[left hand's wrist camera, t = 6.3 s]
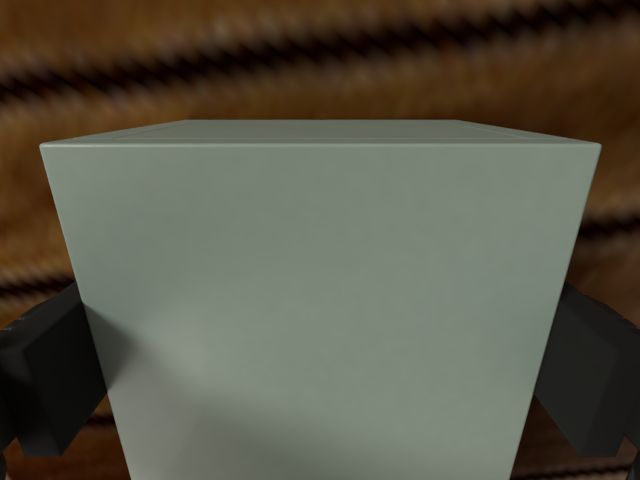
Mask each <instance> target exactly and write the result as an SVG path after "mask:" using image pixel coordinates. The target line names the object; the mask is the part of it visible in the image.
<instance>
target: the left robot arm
mask: <svg viewBox="0 0 640 480" xmlns="http://www.w3.org/2000/svg"><path fill="white" fill-rule="evenodd" d="M636 327H637V326H635V325H634V324H633V323H631V322H630V321H628V320H627V319H623V316H621V315H620V314H619V313H617V312H616V311H615V310H613V309H612V308H610V307H609V306H608V305H606V304H604V303H602V302H599V301H597V300H595V299H593V298H591V297H589V296H587V295H583V294H582V293H580V292H579V291H578V290H576V289H575V288H574V287H572V286H571V285H570V284H568V283H567V282H566V281H564V285H563V289H562V292H561V296H560V299H559V303H558V307H557V310H556V314H555V317H554V321H553V324H552V328H551V332H550V335H549V339H548V342H547V346H546V350H545V353H544V357H543V360H542V364H541V368H540V371H539V375H538V378H537V382H536V386H535V389H534V394H535V396H536V397H537V398H538V400H539V401H540V403H541V404H542V405H543V407H544V408H545V409H546V411H547V412H548V414H549V415H550V416H551V418H552V419H553V421H554V422H555V423H556V425H557V426H558V427H559V429H560V430H561V432H562V433H563V434H564V436H565V437H566V438H567V440H568V441H569V443H570V444H571V445H572V447H573V448H574V450H575V451H576V452H577V454H578V455H579V456H580V457H615V456H616V454H617V452H618V449H619V447H620V444H621V442H622V440H623V437H624V435H625V436H626V437H627V438H628V439H629V440H630V441H631V442H632V444H633V445H634V446H635V447H636V448H637V449H638V452H637V455H636V457H635V459H634V461H633V464H632V466H631V468H630V470H629V473H628V475H627V477H626V479H625V480H640V329H637V328H636ZM106 393H107V389H106V386H105V382H104V379H103V375H102V371H101V368H100V364H99V361H98V357H97V353H96V350H95V346H94V342H93V339H92V335H91V332H90V328H89V324H88V321H87V317H86V314H85V310H84V306H83V303H82V299H81V295H80V292H79V288H78V285H77V281H75V282H73V283H72V284H71V285H69V286H68V287H67V288H65V289H64V290H63V291H61V292H60V293H59V294H57V295H56V296H55V297H53V298H51V299H48V300H46V301H44V302H42V303H40V304H38V305H36V306H34V307H32V308H31V309H30V310H28V311H27V312H26V313H24V314H23V315H21V316H20V317H19V318H18V320H15V321H13V322H12V323H10V324H9V325H8V326H6V327H5V329H4V330H1V331H0V480H5V477H6V471H7V464H6V459H5V457H4V455H3V451H4V450H5V448H6V447H7V446H8V445H9V444H10V443H11V442H12V441H13V440H14V438H15V437H16V436H17V438H18V441H19V443H20V445H21V448H22V450H23V453H24V455H25V457H61V456H62V454H63V453H64V451H65V450H66V449H67V447H68V446H69V445H70V443H71V442H72V440H73V439H74V438H75V436H76V435H77V434H78V432H79V431H80V429H81V428H82V427H83V425H84V424H85V422H86V421H87V420H88V418H89V417H90V416H91V414H92V413H93V411H94V410H95V409H96V407H97V406H98V405H99V403H100V402H101V400H102V399H103V398H104V396H105V395H106Z"/></svg>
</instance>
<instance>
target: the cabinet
mask: <svg viewBox="0 0 640 480" xmlns="http://www.w3.org/2000/svg"><path fill="white" fill-rule="evenodd" d="M601 148H602V146H601V144H599V143H594V142H588V141H582V140H576V139H569V138H564V137H558V136H552V135H546V134H540V133H533V132H527V131H521V130H515V129H509V128H503V127H496V126H490V125H484V124H478V123H472V122H466V121H459V120H182V121H175V122H169V123H163V124H157V125H151V126H144V127H138V128H132V129H126V130H120V131H114V132H107V133H101V134H95V135H89V136H83V137H76V138H73V139H64V140H58V141H52V142H46V143H42V144H40V151H41V154H42V158H43V162H44V165H45V169H46V173H47V176H48V180H49V183H50V187H51V191H52V194H53V198H54V201H55V205H56V209H57V212H58V216H59V220H60V223H61V227H62V230H63V234H64V238H65V241H66V245H67V248H68V252H69V256H70V259H71V263H72V267H73V270H74V274H75V277H76V281H77V285H78V288H79V292H80V295H81V299H82V303H83V306H84V310H85V314H86V317H87V321H88V324H89V328H90V332H91V335H92V339H93V342H94V346H95V350H96V353H97V357H98V361H99V364H100V368H101V371H102V375H103V379H104V382H105V386H106V389H107V393H108V397H109V400H110V404H111V408H112V411H113V415H114V418H115V422H116V426H117V429H118V433H119V436H120V440H121V444H122V447H123V451H124V455H125V458H126V462H127V465H128V469H129V473H130V476H131V480H509V479H510V476H511V472H512V468H513V465H514V461H515V458H516V454H517V450H518V447H519V443H520V440H521V436H522V432H523V429H524V425H525V422H526V418H527V414H528V411H529V407H530V404H531V400H532V396H533V393H534V389H535V386H536V382H537V378H538V375H539V371H540V368H541V364H542V360H543V357H544V353H545V350H546V346H547V342H548V339H549V335H550V332H551V328H552V324H553V321H554V317H555V314H556V310H557V307H558V303H559V299H560V296H561V292H562V289H563V285H564V281H565V278H566V274H567V271H568V267H569V263H570V260H571V256H572V253H573V249H574V245H575V242H576V238H577V235H578V231H579V227H580V224H581V220H582V217H583V213H584V209H585V206H586V202H587V199H588V195H589V191H590V188H591V184H592V181H593V177H594V174H595V170H596V166H597V163H598V159H599V156H600V152H601Z"/></svg>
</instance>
